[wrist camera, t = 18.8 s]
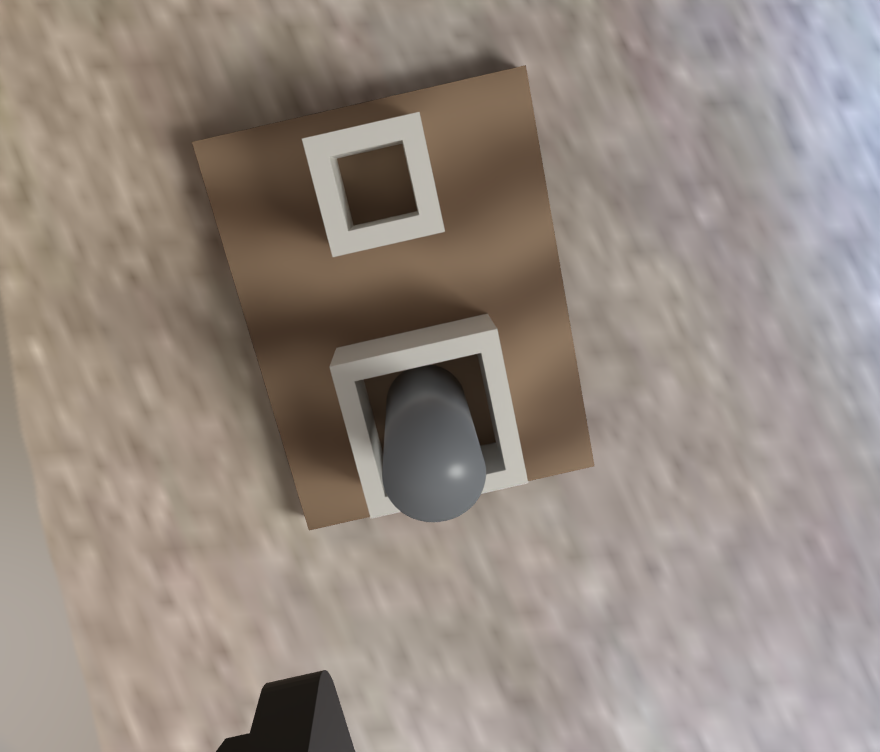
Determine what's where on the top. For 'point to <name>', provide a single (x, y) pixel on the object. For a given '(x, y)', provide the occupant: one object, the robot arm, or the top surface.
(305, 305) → the board
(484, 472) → the capsule
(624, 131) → the top surface
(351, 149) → the socket fittings
